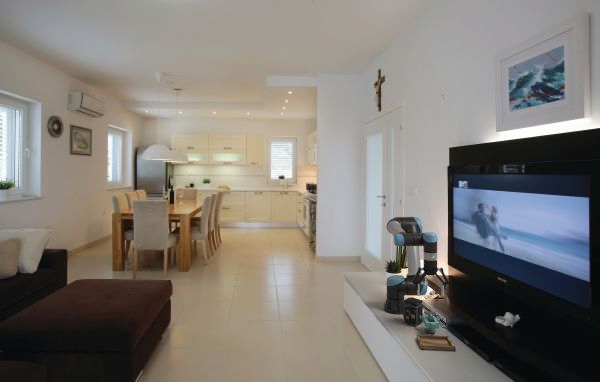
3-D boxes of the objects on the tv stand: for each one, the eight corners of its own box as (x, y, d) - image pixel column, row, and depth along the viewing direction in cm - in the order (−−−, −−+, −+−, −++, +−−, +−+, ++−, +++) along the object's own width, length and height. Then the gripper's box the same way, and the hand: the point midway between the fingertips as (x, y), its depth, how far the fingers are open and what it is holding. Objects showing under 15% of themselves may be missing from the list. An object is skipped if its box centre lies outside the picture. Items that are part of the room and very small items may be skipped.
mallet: (424, 330, 209) (424, 310, 209) (434, 331, 208) (434, 310, 208) (426, 334, 204) (426, 313, 204) (436, 334, 203) (436, 314, 203)
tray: (416, 338, 199) (416, 334, 199) (448, 339, 197) (448, 336, 197) (421, 349, 186) (421, 345, 186) (455, 351, 184) (455, 347, 184)
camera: (408, 318, 227) (408, 295, 227) (423, 323, 220) (423, 299, 219) (400, 323, 220) (399, 299, 220) (415, 328, 213) (415, 303, 212)
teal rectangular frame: (422, 320, 212) (422, 315, 212) (434, 320, 211) (434, 315, 211) (427, 329, 199) (427, 324, 199) (440, 330, 198) (440, 324, 198)
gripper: (409, 260, 202) (409, 297, 203) (454, 261, 199) (455, 298, 200) (407, 257, 210) (407, 293, 210) (450, 258, 207) (451, 294, 207)
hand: (430, 295), depth 205 cm, fingers open, 13 cm apart
